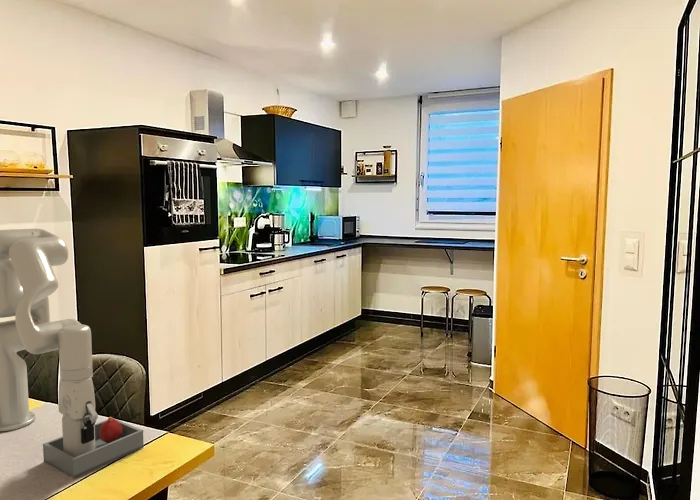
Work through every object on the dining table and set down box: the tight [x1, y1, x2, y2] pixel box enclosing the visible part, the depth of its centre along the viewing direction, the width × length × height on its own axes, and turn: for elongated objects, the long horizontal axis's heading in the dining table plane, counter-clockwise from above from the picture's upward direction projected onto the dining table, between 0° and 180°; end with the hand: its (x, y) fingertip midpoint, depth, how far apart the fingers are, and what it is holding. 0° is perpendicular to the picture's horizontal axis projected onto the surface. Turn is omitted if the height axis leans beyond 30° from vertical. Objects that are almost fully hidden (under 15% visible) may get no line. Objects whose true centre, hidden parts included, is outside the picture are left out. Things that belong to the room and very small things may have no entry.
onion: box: [100, 416, 122, 443], centre depth 145 cm, size 6×6×8 cm
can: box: [61, 413, 95, 458], centre depth 137 cm, size 8×8×12 cm
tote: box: [42, 417, 144, 480], centre depth 140 cm, size 15×20×5 cm
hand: (79, 437), depth 137 cm, fingers closed on can, 7 cm apart
